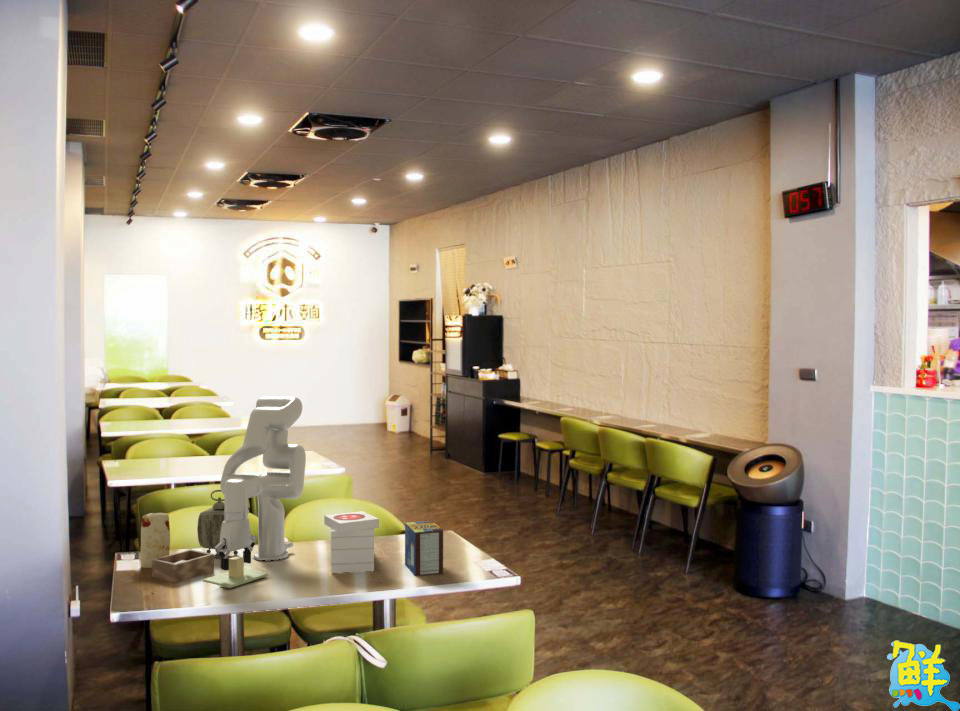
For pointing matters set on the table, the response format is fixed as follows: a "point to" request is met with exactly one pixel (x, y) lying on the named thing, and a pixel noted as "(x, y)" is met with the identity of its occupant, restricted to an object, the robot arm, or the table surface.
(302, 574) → the table surface
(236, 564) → the lid
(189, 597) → the table surface
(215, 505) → the tabletop clock
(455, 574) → the table surface
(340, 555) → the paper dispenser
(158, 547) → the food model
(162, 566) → the box
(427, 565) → the protein box
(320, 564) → the table surface
